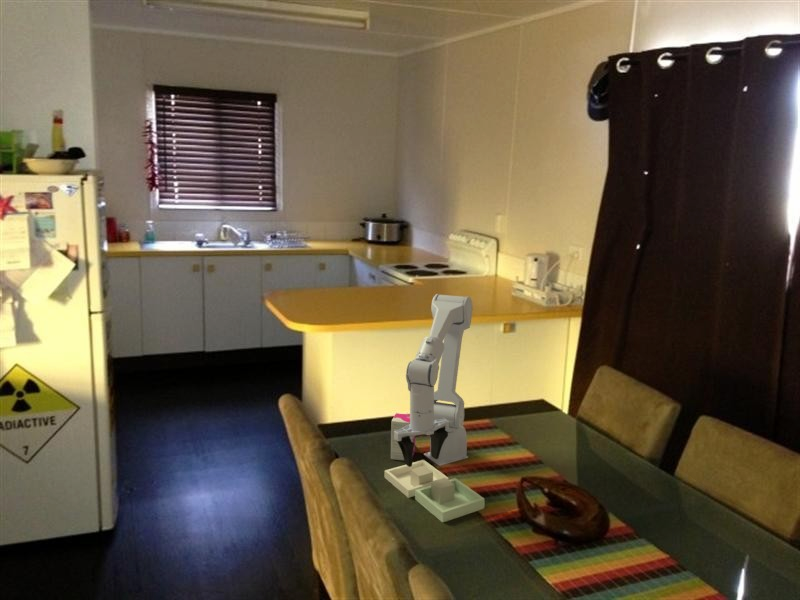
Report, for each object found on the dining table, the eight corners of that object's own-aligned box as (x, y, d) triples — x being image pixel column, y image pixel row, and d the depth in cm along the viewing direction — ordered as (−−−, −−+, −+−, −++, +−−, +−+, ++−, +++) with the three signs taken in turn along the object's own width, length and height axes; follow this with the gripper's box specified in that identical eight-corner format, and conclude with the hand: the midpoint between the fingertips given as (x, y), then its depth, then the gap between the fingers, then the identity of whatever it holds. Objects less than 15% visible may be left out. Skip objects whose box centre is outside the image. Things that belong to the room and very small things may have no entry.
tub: (455, 488, 168) (455, 477, 167) (484, 510, 158) (484, 498, 157) (415, 501, 162) (415, 490, 162) (442, 524, 152) (442, 512, 152)
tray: (423, 468, 178) (423, 459, 178) (448, 487, 169) (448, 478, 168) (384, 479, 173) (384, 470, 172) (408, 500, 163) (408, 490, 162)
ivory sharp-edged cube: (424, 480, 171) (424, 465, 170) (433, 487, 168) (433, 472, 167) (410, 484, 169) (410, 469, 168) (419, 491, 166) (419, 476, 165)
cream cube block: (444, 492, 165) (444, 477, 164) (454, 499, 162) (454, 484, 161) (430, 497, 163) (430, 481, 162) (440, 504, 160) (440, 488, 159)
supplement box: (411, 463, 181) (412, 423, 179) (390, 461, 182) (389, 421, 180) (415, 453, 187) (416, 414, 184) (394, 451, 188) (394, 412, 185)
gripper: (404, 420, 157) (404, 475, 160) (456, 408, 164) (455, 460, 167) (389, 410, 163) (389, 463, 166) (440, 399, 170) (439, 449, 173)
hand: (421, 461), depth 167 cm, fingers open, 7 cm apart
